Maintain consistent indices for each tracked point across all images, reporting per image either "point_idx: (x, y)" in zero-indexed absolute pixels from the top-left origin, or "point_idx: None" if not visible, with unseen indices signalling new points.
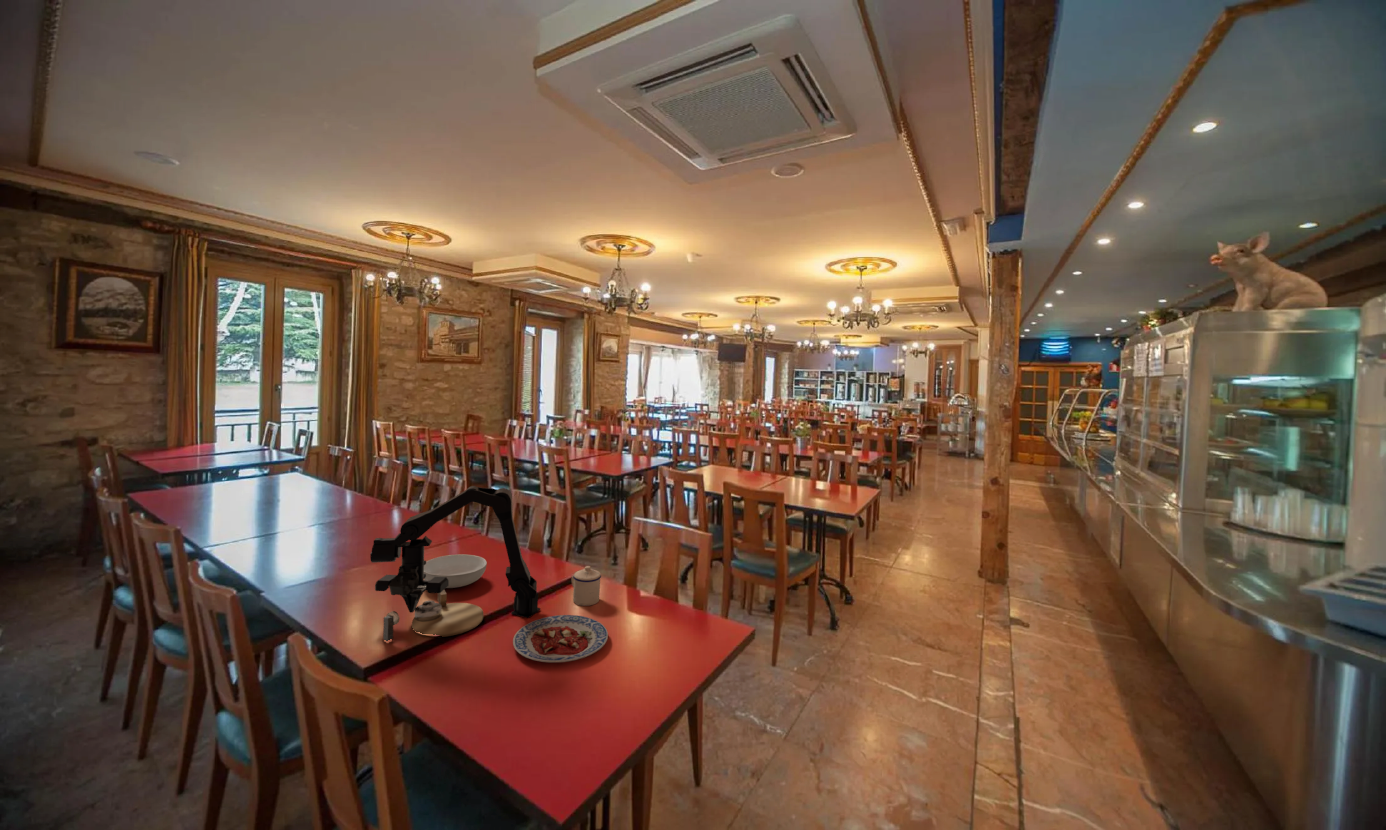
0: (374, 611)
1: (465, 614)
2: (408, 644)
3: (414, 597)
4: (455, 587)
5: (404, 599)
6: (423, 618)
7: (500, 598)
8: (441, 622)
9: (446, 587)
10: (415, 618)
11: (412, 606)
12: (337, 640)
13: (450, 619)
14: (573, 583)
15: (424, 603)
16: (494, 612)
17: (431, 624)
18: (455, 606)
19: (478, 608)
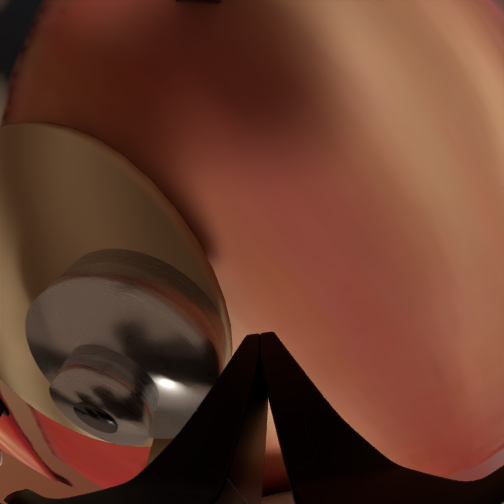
0: (495, 319)
1: (14, 361)
2: (62, 26)
3: (173, 478)
4: (262, 497)
5: (345, 432)
6: (79, 265)
7: (91, 457)
8: (8, 269)
9: (284, 496)
10: (168, 271)
11: (234, 376)
12: (490, 10)
13: (9, 310)
14: (1, 456)
15: (113, 410)
16: None
17: (25, 230)
18: None
19: (31, 403)
